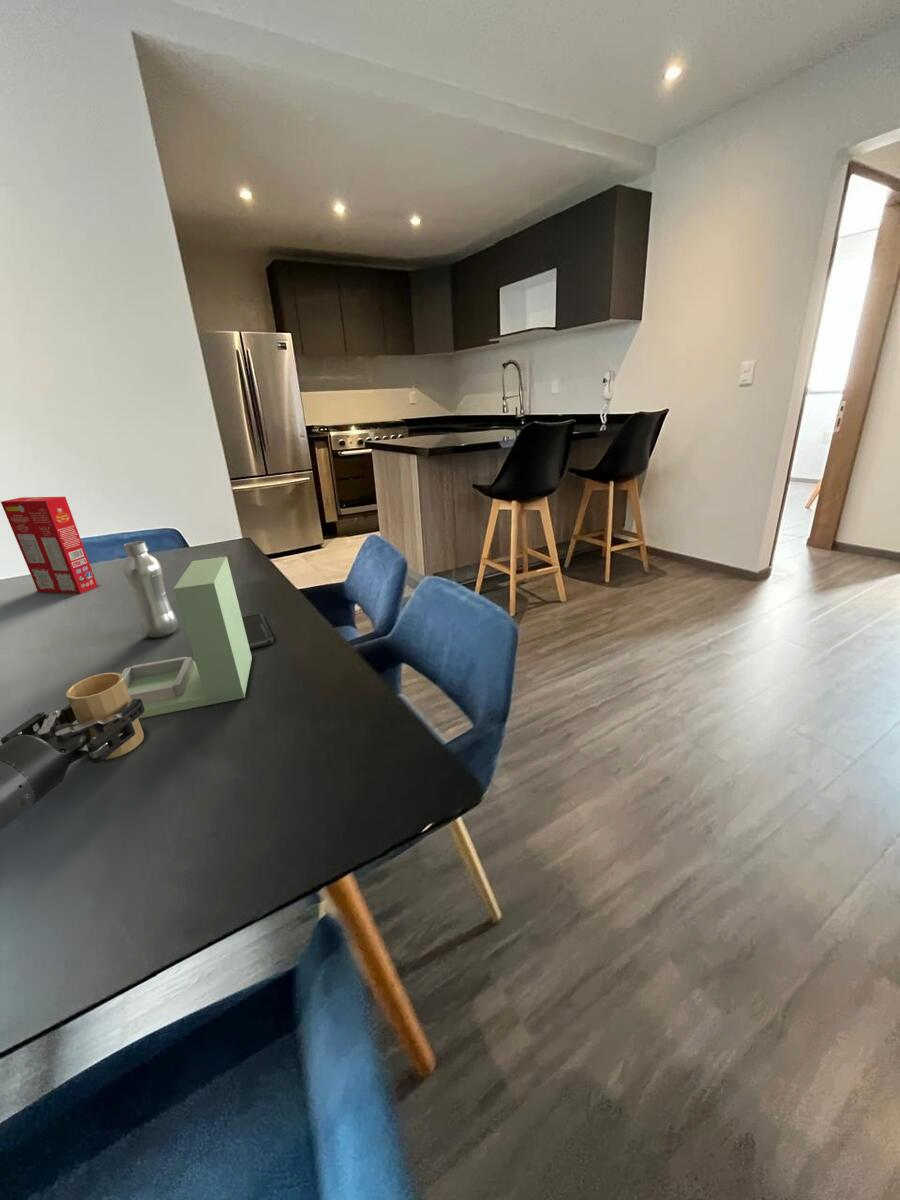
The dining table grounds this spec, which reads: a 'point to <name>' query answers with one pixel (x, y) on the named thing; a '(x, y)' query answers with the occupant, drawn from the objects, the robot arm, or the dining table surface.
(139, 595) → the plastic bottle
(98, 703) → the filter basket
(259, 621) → the phone
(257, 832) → the dining table surface
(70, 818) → the dining table surface
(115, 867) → the dining table surface
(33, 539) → the food packaging
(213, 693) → the coffee maker
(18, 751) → the robot arm
